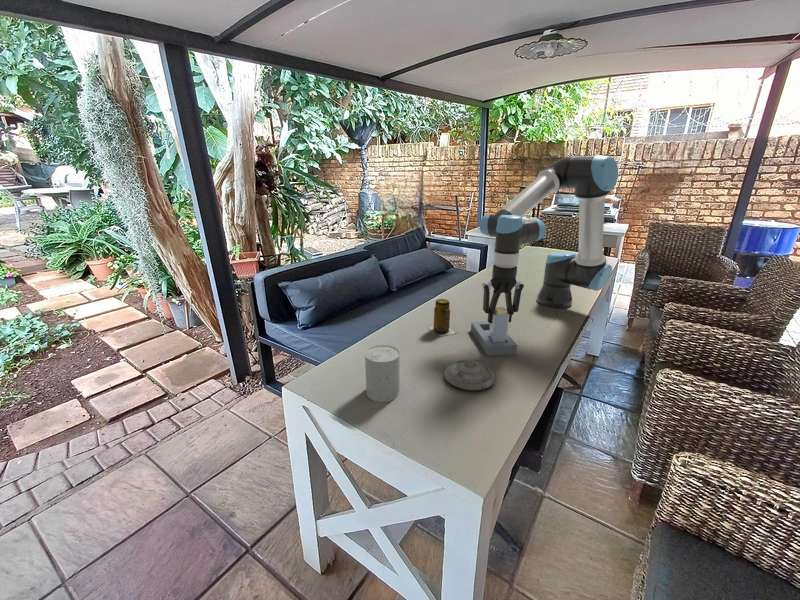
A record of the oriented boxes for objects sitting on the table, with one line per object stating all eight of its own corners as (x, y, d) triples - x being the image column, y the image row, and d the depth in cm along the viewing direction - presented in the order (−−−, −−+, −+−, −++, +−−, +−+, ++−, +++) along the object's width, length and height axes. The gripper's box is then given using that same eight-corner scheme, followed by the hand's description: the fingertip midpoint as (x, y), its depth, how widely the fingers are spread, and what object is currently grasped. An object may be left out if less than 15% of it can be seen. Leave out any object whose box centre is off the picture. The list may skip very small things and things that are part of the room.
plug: (500, 338, 129) (504, 306, 125) (504, 344, 126) (508, 311, 121) (489, 339, 129) (492, 307, 125) (493, 344, 125) (496, 311, 121)
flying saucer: (461, 399, 101) (462, 382, 99) (434, 372, 114) (435, 357, 112) (505, 387, 106) (507, 370, 105) (475, 362, 119) (476, 347, 117)
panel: (495, 329, 143) (496, 321, 141) (516, 354, 124) (517, 345, 123) (470, 330, 142) (471, 322, 141) (487, 355, 123) (488, 346, 122)
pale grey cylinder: (366, 383, 108) (364, 345, 104) (398, 381, 109) (398, 344, 104) (366, 403, 99) (364, 363, 95) (401, 401, 100) (401, 361, 96)
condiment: (444, 325, 147) (445, 296, 143) (456, 333, 140) (457, 303, 135) (428, 328, 144) (429, 299, 140) (439, 337, 137) (441, 307, 132)
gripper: (525, 261, 122) (517, 325, 130) (475, 262, 120) (470, 327, 129) (535, 267, 115) (526, 334, 123) (482, 268, 113) (477, 336, 122)
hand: (498, 330), depth 126 cm, fingers closed on plug, 4 cm apart
